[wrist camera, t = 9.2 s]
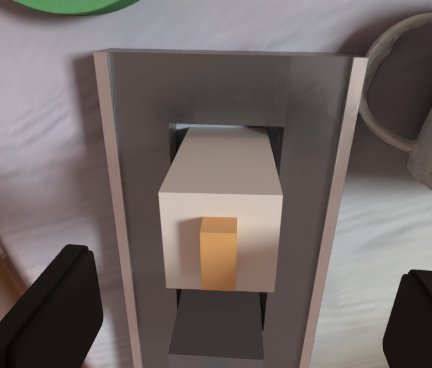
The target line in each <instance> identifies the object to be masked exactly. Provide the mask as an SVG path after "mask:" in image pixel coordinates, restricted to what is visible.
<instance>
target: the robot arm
mask: <svg viewBox="0 0 432 368" xmlns="http://www.w3.org/2000/svg"><path fill="white" fill-rule="evenodd" d="M102 323H103V309H102V302H101V296H100V290H99V284H98V278H97V272H96V265H95V259H94V254H93V252H92V251H89V249H88V247H87V246H85V245H72V244H68V245H66V246H65V247H64V248H63V249H62V250H61V252H60V253H59V254H58V255H57V256H56V257H55V259H54V260H53V261H52V262H51V263H50V264H49V266H48V267H47V268H46V269H45V270H44V271H43V273H42V274H41V275H40V276H39V277H38V278H37V280H36V281H35V282H34V283H33V284H32V285H31V287H30V288H29V289H28V290H27V291H26V292H25V293H24V294H23V296H22V297H21V298H20V299H19V300H18V302H17V303H16V304H15V305H14V306H13V307H12V308H11V310H10V311H9V312H8V313H7V314H6V315H5V317H4V318H3V319H2V320H1V321H0V368H81V366H82V364H83V362H84V360H85V358H86V356H87V354H88V352H89V350H90V348H91V346H92V344H93V342H94V340H95V338H96V336H97V334H98V332H99V330H100V328H101V326H102ZM383 351H384V354H385V357H386V359H387V362H388V364H389V367H390V368H432V271H427V270H410V271H409V273H408V274H404V275H403V276H402V278H401V282H400V285H399V288H398V291H397V295H396V298H395V301H394V305H393V308H392V311H391V314H390V318H389V321H388V324H387V328H386V331H385V334H384V337H383Z"/></svg>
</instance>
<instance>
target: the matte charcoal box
mask: <svg viewBox="0 0 432 368" xmlns="http://www.w3.org/2000/svg"><path fill="white" fill-rule="evenodd" d="M168 360H169V368H263V367H264V350H263V336H262V322H261V308H260V294H259V292H250V291H218V290H201V289H182V292H181V296H180V301H179V306H178V310H177V315H176V320H175V324H174V329H173V333H172V338H171V343H170V347H169V352H168Z"/></svg>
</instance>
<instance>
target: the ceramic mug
mask: <svg viewBox="0 0 432 368" xmlns="http://www.w3.org/2000/svg"><path fill="white" fill-rule="evenodd" d="M428 25H432V12H428V13H423V14H419V15H415V16H412V17H409V18H407V19H405V20H403V21H400V22H398V23H397V24H395V25H394V26H392V27H390V28H389V29H388V30H387V31H385V32H384V33H383V34H382V35H381V36H380V37H379V38H378V39H377V40H376V41H374V43H373V44H372V46H371V47H370V48H369V50H368V52H367V54H366V55H365V57H367V58H368V62H367V67H366V73H365V78H364V83H363V88H362V93H361V99H360V104H359V109H358V113H359V114H360V116H361V118H362V120H363V121H364V123H365V124H366V125H367V126H368V127H369V129H370V130H371V131H372V132H374V133H375V134H376V135H377V136H378V137H380V138H381V139H382V140H384V141H385V142H387V143H389V144H391V145H393V146H395V147H397V148H398V149H401V150H403V151H406V152H408V153H409V157H408V160H407V169H408V171H409V172H410V173H411V175H412V176H413V177H414V178H415V179H416V180H418V181H419V182H421V183H422V184H424V185H426V186H427V187H429V188H430V189H431V190H432V108H431V110H430V112H429V114H428V116H427V118H426V120H425V122H424V123H423V125H422V128H421V130H420V133H419V135H418V136H417V138H416V139H415V140H408V139H406V138H404V137H401V136H399V135H397V134H395V133H393V132H392V131H390V130H388V129H387V128H385V127H384V126H383V125H382V124H381V123H379V122H378V121H377V120H376V119H375V118H374V116H373V115H372V114H371V112H370V110H369V106H368V105H367V102H366V97H367V91H368V89H369V86H370V84H371V82H372V79H373V77H374V75H375V73H376V71H377V69H378V67H379V65H380V64H381V62H382V60H383V59H384V58H385V57H386V56H388V55H389V54H390V53H391V50H392V48H393V43H394V42H395V41H396V40H397V39H398V38H399V37H400V36H401V34H402V33H404V32H407V31H409V30H411V29H413V28H416V27H418V26H428Z"/></svg>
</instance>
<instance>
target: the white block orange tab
mask: <svg viewBox="0 0 432 368" xmlns="http://www.w3.org/2000/svg"><path fill="white" fill-rule="evenodd" d="M158 193H159V205H160V217H161V229H162V241H163V253H164V265H165V277H166V288H177V289H201V290H218V291H250V292H274V291H275V280H276V269H277V257H278V246H279V235H280V224H281V212H282V201H283V193H282V189H281V185H280V181H279V177H278V173H277V169H276V165H275V161H274V157H273V153H272V149H271V145H270V141H269V137H268V133H267V129H266V128H218V127H189V129H188V131H187V133H186V135H185V137H184V139H183V142H182V144H181V146H180V148H179V150H178V152H177V154H176V156H175V158H174V161H173V163H172V165H171V167H170V169H169V171H168V173H167V175H166V177H165V180H164V182H163V184H162V186H161V188H160V190H159V192H158Z"/></svg>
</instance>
